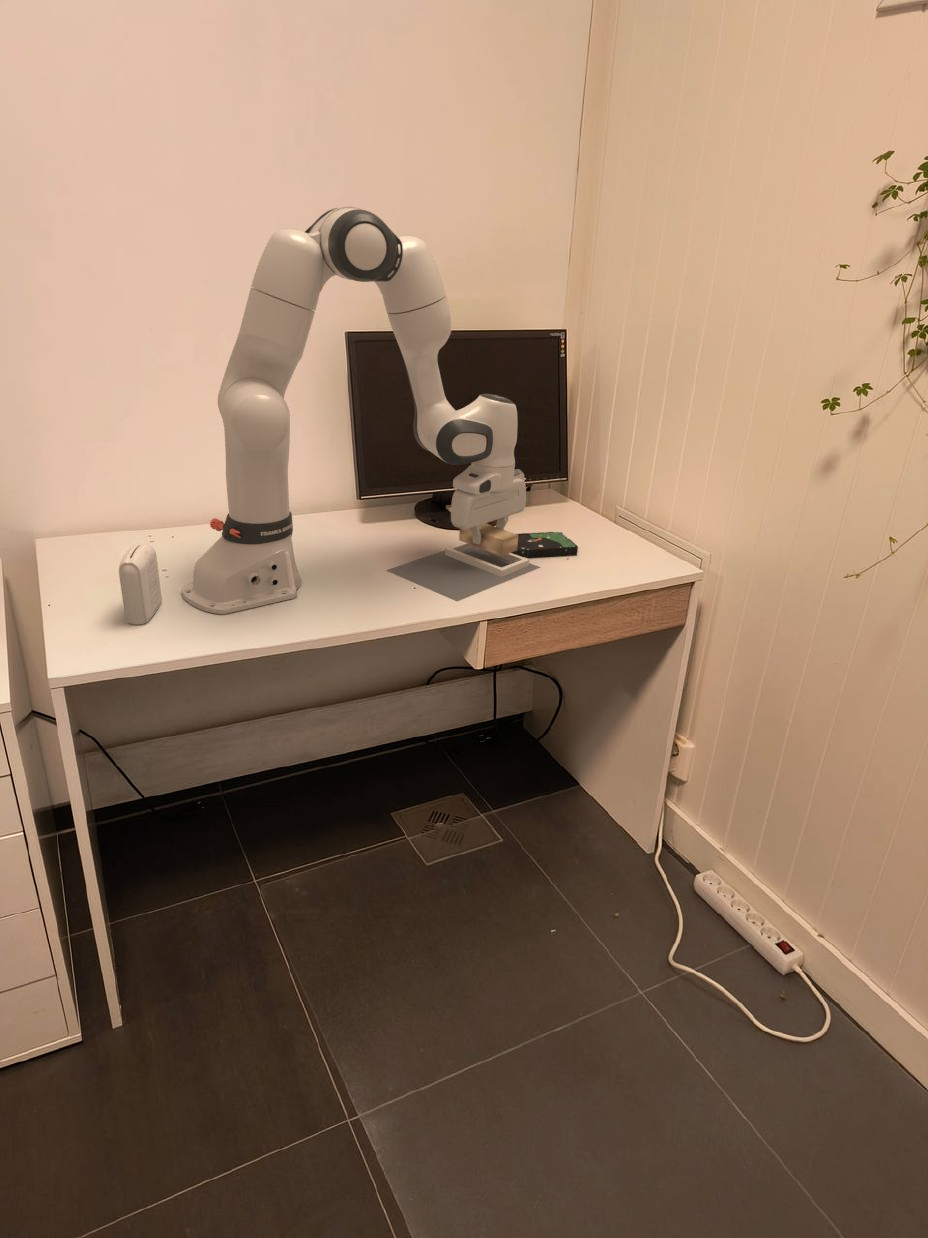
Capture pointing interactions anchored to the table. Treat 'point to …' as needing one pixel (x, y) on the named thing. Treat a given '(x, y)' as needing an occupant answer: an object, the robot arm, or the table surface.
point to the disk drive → (545, 545)
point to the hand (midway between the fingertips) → (487, 539)
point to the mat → (463, 570)
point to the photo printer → (140, 583)
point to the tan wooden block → (492, 539)
